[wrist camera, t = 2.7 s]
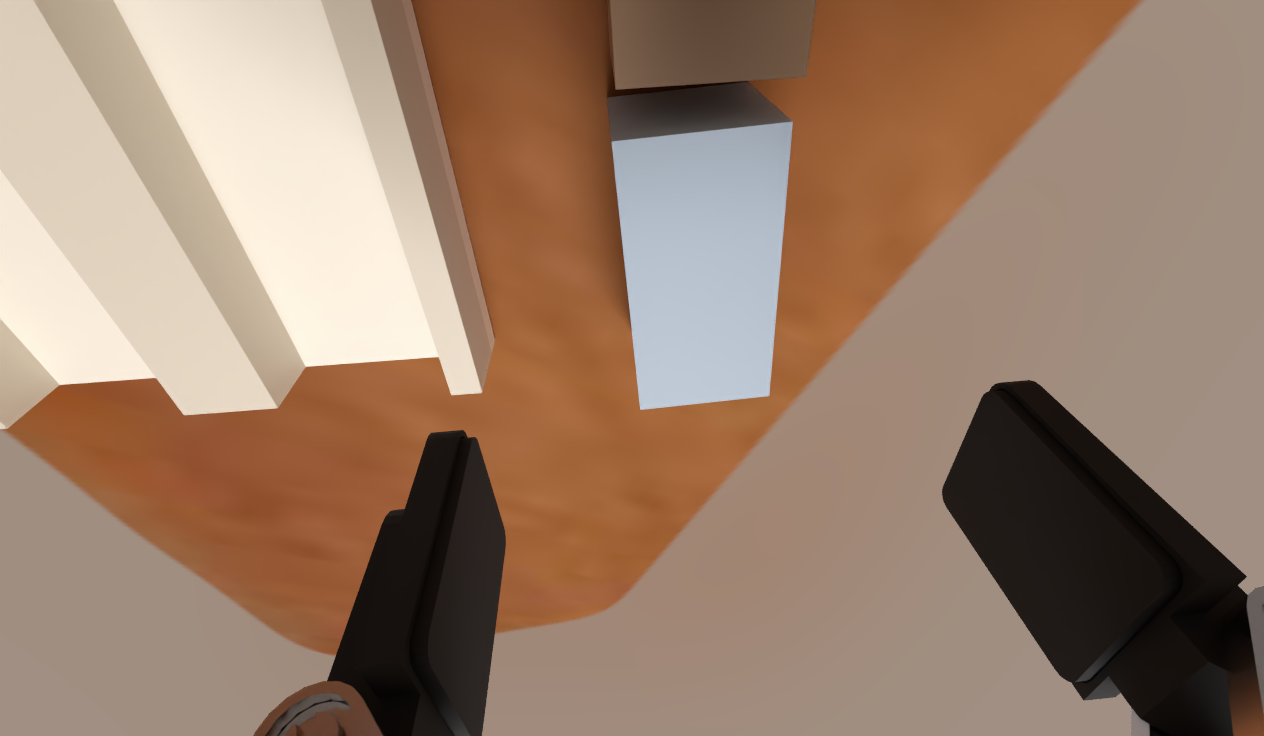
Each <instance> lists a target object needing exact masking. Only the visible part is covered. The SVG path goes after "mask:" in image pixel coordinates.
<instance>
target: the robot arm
mask: <svg viewBox="0 0 1264 736" xmlns="http://www.w3.org/2000/svg"><path fill="white" fill-rule="evenodd" d="M942 495H943V500H944V503H945V505H946V507H947V509H948V510H949V512H950V513H951V514H952V516H953V518H954V519H955V521H956V522H957V524H958V525H959V527H960V528H961V530H962V531H963V533H964V534H965V535H966V537H967V538H968V540H969V542H970V543H971V545H972V546H973V547H974V549H975V551H976V552H977V553H978V555H979V557H980V558H981V560H982V561H983V563H984V564H985V566H986V567H987V568H988V570H989V571H990V573H991V574H992V576H993V577H994V579H995V580H996V582H997V583H998V585H999V586H1000V588H1001V589H1002V591H1003V592H1004V594H1005V595H1006V597H1007V598H1008V600H1009V601H1010V603H1011V604H1012V606H1013V607H1014V609H1015V610H1016V612H1017V613H1018V615H1019V616H1020V618H1021V619H1022V621H1023V622H1024V624H1025V625H1026V627H1027V628H1028V630H1029V631H1030V633H1031V634H1032V636H1033V637H1034V639H1035V640H1036V642H1037V643H1038V645H1039V646H1040V648H1041V649H1042V651H1043V652H1044V653H1045V655H1046V657H1047V658H1048V660H1049V661H1050V663H1051V664H1052V666H1053V667H1054V669H1055V670H1056V671H1057V672H1058V674H1059V675H1060V676H1061V677H1062V678H1064V679H1065V680H1067V681H1069V682H1071V683H1072V684H1073V685H1074V687H1075V689H1076V690H1077V692H1078V693H1079V694H1080V696H1081V697H1082V699H1083V700H1093V699H1102V698H1111V697H1116V696H1117V695H1118V694H1119V693H1121V694H1122V695H1123V696H1124V698H1125V699H1126V700H1127V702H1128V703H1129V705H1130V706H1131V736H1264V586H1263V587H1258V588H1255V589H1254V590H1253V591H1252V592H1251V593H1250V594H1249V595H1247V594H1246V593H1245V592H1244V591H1243V590H1242V589H1241V588H1240V587H1239V586H1238V584H1239V583H1241V582H1242V581H1243V580H1244V579H1245V578H1246V577H1247V576H1246V575H1245V574H1243V573H1242V572H1241V571H1240V570H1239V569H1238V568H1237V567H1236V566H1235V565H1234V564H1233V563H1232V562H1231V561H1229V560H1228V559H1227V558H1226V557H1225V556H1224V555H1223V554H1222V553H1221V552H1220V551H1219V550H1218V549H1216V548H1215V547H1214V546H1213V545H1212V544H1211V543H1210V542H1209V541H1208V540H1207V539H1206V538H1205V537H1204V536H1202V535H1201V534H1200V533H1199V532H1198V531H1197V530H1196V529H1195V528H1194V527H1193V526H1191V524H1189V523H1188V522H1187V521H1186V520H1185V519H1184V518H1183V517H1182V516H1181V515H1180V514H1179V513H1177V512H1176V511H1175V510H1174V509H1173V508H1172V507H1171V506H1170V505H1169V504H1168V503H1167V502H1165V500H1163V499H1162V498H1161V497H1160V496H1159V495H1158V494H1157V493H1156V492H1155V491H1154V490H1153V489H1152V488H1151V487H1149V486H1148V485H1147V484H1146V483H1145V482H1144V481H1143V480H1142V479H1141V478H1140V477H1139V476H1138V475H1136V474H1135V473H1134V472H1133V471H1132V470H1131V469H1130V468H1129V467H1128V466H1127V465H1126V464H1125V463H1124V462H1122V461H1121V460H1120V459H1119V458H1118V457H1117V456H1116V455H1115V454H1114V453H1113V452H1111V450H1109V449H1108V448H1107V447H1106V446H1105V445H1104V444H1103V443H1102V442H1101V441H1100V440H1099V439H1098V438H1097V437H1095V436H1094V435H1093V434H1092V433H1091V432H1090V431H1089V430H1088V429H1087V428H1086V427H1084V426H1083V425H1082V424H1081V423H1080V422H1079V421H1078V420H1077V419H1076V418H1075V417H1074V416H1073V415H1072V414H1070V413H1069V412H1068V411H1067V410H1066V409H1065V408H1064V407H1063V406H1062V405H1061V404H1060V403H1059V402H1058V401H1057V400H1055V399H1054V398H1053V397H1052V396H1051V395H1050V394H1049V393H1048V392H1047V391H1046V390H1045V389H1043V388H1042V387H1041V386H1040V385H1039V384H1037V383H1036V382H1034V381H1030V380H1028V381H1015V382H1005V383H998V384H995V385H994V386H992V387H991V389H990V391H989V392H986V393H985V394H984V395H983V397H982V398H981V401H980V403H979V405H978V408H977V410H976V412H975V415H974V417H973V419H972V421H971V424H970V426H969V429H968V431H967V433H966V435H965V438H964V440H963V442H962V444H961V447H960V449H959V452H958V454H957V456H956V458H955V461H954V463H953V465H952V468H951V470H950V472H949V474H948V477H947V479H946V481H945V483H944V486H943V489H942ZM505 546H506V538H505V530H504V526H503V523H502V519H501V516H500V513H499V509H498V506H497V503H496V499H495V496H494V493H493V489H492V486H491V483H490V480H489V476H488V473H487V470H486V466H485V463H484V460H483V456H482V453H481V450H480V446H479V443H478V440H477V439H476V437H471V438H468V437H467V435H466V433H465V432H464V430H459V431H447V432H436V433H431V434H430V435H429V436H428V438H427V441H426V444H425V447H424V451H423V454H422V457H421V460H420V463H419V466H418V470H417V473H416V476H415V479H414V482H413V485H412V488H411V492H410V495H409V498H408V501H407V504H406V507H405V509H401V510H393V511H390V512H389V513H388V514H387V516H386V517H385V519H384V521H383V523H382V526H381V529H380V531H379V534H378V537H377V540H376V543H375V546H374V549H373V552H372V554H371V557H370V560H369V563H368V566H367V569H366V572H365V574H364V577H363V580H362V583H361V586H360V589H359V592H358V594H357V597H356V600H355V603H354V606H353V609H352V612H351V614H350V617H349V620H348V623H347V626H346V629H345V632H344V634H343V637H342V640H341V643H340V646H339V649H338V652H337V654H336V657H335V660H334V663H333V666H332V669H331V672H330V675H329V677H328V680H327V681H323V682H320V683H317V684H313V685H310V686H307V687H304V688H303V689H301V690H299V691H298V692H296V693H294V694H293V695H291V696H289V697H287V698H286V699H285V700H284V701H283V702H282V703H281V704H279V706H277V707H276V708H275V709H274V710H273V711H272V712H271V713H269V715H268V716H267V717H266V719H265V720H264V721H263V723H262V724H261V725H260V727H259V728H258V729H257V731H256V732H255V734H254V736H482V730H483V721H484V714H485V706H486V698H487V690H488V682H489V675H490V667H491V659H492V651H493V643H494V635H495V627H496V619H497V611H498V603H499V595H500V587H501V579H502V571H503V563H504V556H505Z"/></svg>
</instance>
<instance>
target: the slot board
mask: <svg viewBox="0 0 1264 736" xmlns="http://www.w3.org/2000/svg"><path fill="white" fill-rule="evenodd" d="M494 342H495V339H494V334H493V330H492V326H491V322H490V318H489V314H488V310H487V306H486V302H485V298H484V294H483V290H482V286H481V282H480V278H479V274H478V269H477V265H476V261H475V257H474V253H473V249H472V245H471V241H470V237H469V233H468V229H467V225H466V221H465V217H464V213H463V209H462V204H461V200H460V196H459V192H458V188H457V184H456V180H455V176H454V172H453V168H452V164H451V160H450V156H449V152H448V148H447V144H446V139H445V135H444V131H443V127H442V123H441V119H440V115H439V111H438V107H437V103H436V99H435V95H434V91H433V87H432V83H431V79H430V74H429V70H428V66H427V62H426V58H425V54H424V50H423V46H422V42H421V38H420V34H419V30H418V26H417V22H416V18H415V14H414V9H413V5H412V1H411V0H0V429H7V428H9V427H10V426H11V425H12V424H13V423H15V422H16V421H17V420H18V419H19V418H21V417H22V416H23V415H24V414H25V413H27V412H28V411H29V410H30V409H31V408H32V407H34V406H35V405H36V404H37V403H38V402H40V401H41V400H42V399H43V398H44V397H46V396H47V395H48V394H49V393H50V392H52V391H53V390H54V389H55V388H56V387H58V386H59V385H63V384H77V383H90V382H104V381H118V380H131V379H145V378H157V380H158V381H159V382H160V384H161V385H162V386H163V388H164V389H165V390H166V392H167V393H168V394H169V396H170V397H171V398H172V400H173V401H174V402H175V404H176V405H177V406H178V408H179V409H180V410H181V412H182V413H183V414H184V415H193V414H206V413H220V412H233V411H246V410H260V409H273V408H278V407H279V406H280V404H281V403H282V401H283V400H284V398H285V397H286V395H287V394H288V392H289V391H290V389H291V388H292V386H293V385H294V383H295V382H296V380H297V379H298V377H299V376H300V374H301V373H302V371H303V370H304V368H305V367H307V366H321V365H334V364H348V363H361V362H375V361H388V360H402V359H416V358H429V357H439V359H440V362H441V365H442V368H443V371H444V374H445V377H446V380H447V383H448V386H449V389H450V392H451V395H459V394H473V393H482V392H483V388H484V383H485V379H486V375H487V371H488V367H489V363H490V358H491V354H492V350H493V346H494Z"/></svg>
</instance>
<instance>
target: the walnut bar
mask: <svg viewBox="0 0 1264 736" xmlns="http://www.w3.org/2000/svg"><path fill="white" fill-rule="evenodd" d="M815 6H816V0H607V13H608V28H609V44H610V57H611V63H612V69H613V76H614V82H615V88H616V90H617V89H632V88H647V87H662V86H677V85H692V84H707V83H722V82H737V81H752V80H767V79H782V78H797V77H806V74H807V66H808V59H809V51H810V44H811V36H812V28H813V21H814V13H815Z"/></svg>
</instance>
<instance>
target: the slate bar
mask: <svg viewBox="0 0 1264 736" xmlns="http://www.w3.org/2000/svg"><path fill="white" fill-rule="evenodd" d="M607 104H608V114H609V123H610V132H611V142H612V151H613V160H614V170H615V179H616V188H617V198H618V207H619V216H620V225H621V235H622V244H623V253H624V262H625V272H626V281H627V290H628V300H629V309H630V318H631V327H632V337H633V346H634V355H635V364H636V374H637V383H638V392H639V402H640V410H642V409H652V408H661V407H670V406H680V405H689V404H698V403H708V402H717V401H727V400H736V399H745V398H755V397H764V396H769V391H770V380H771V368H772V356H773V345H774V333H775V321H776V310H777V298H778V287H779V275H780V263H781V252H782V240H783V229H784V217H785V205H786V194H787V182H788V170H789V159H790V147H791V136H792V124H793V121H791V120H790V119H789V118H788V117H787V116H786V115H785V114H784V113H782V112H781V111H780V110H779V109H778V108H777V107H776V106H775V105H773V104H772V103H771V102H770V101H769V100H768V99H767V98H766V97H764V96H763V95H762V94H761V93H760V92H759V91H758V90H756V89H755V88H754V87H753V86H752V85H751V84H750V83H749V82H742V83H733V84H724V85H715V86H706V87H697V88H688V89H679V90H670V91H661V92H652V93H643V94H634V95H625V96H616V97H607Z"/></svg>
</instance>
